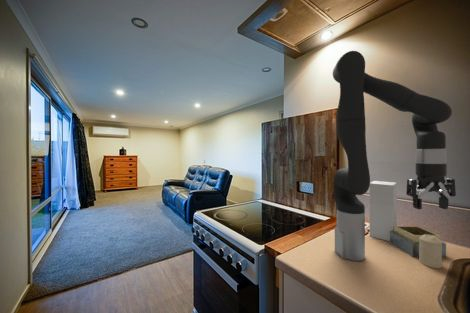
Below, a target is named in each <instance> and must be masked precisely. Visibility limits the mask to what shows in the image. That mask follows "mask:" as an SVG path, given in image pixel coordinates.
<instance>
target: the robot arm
mask: <svg viewBox="0 0 470 313" xmlns="http://www.w3.org/2000/svg"><path fill="white" fill-rule="evenodd" d="M332 78H333V80H334V81H335V82H336V83H338V84H339V91H340V92H339V100H338V106H337V111H336V135H337V139H338V141H339V143H340V145H341V146H342V148H343V149H344V152H345V154H346V157H347V166H348V167H343V168H340V169H337V170H336V172H334V173H335V174H334V176H333V183H332V184H333V186H332V187H333V198H334V203H335V205H336V226H335V227H334V251H335V253H337V254H338V255H339V257H340V258H341V259H344V260H345V259H346V260H348V261H353V262H361V261H364V260H365V257H366V237H365V236H366V222H365V221H366V220H365V219H366V216H365V215H366V211H365V210H366V208H365V207H366V206H365V204H364V203H363V202H362V201H361V200H360V199H358V198H359V197H357V196H362V195H363V196H364V195H365V194H366V193H367V192H368V190H370V183H371V175H370V168H369V162H368V154H367V153H368V152H367V143H366V142H367V140H366V130H367V129H366V113H365V111H366V108H365V107H366V106H365V97H364V96H365V95H364V94H367V95H369V96H371V97H374V98H375V99H378V100H380V101H381V102H382V103H385V104H386V105H389V106H390V107H392V108H394V109H396V110H397V111H400V112H403V113H404V112H406V113H412V115H411V124H412V128H413V130H414V133H415V136H416V151H415V175H416V176H417V178H416V179H414V178H407V179H406V180H407V181H406V196H409V197H411V198H412V207H413V208H414V209H417V210H423V209H422V208H423V206H422V205H423V199H422V198H423V196H424V195H426V194H427V193H431V192H436V194H438V196H439V197H438V207H439V208H440V209H443V210H447V209H448V208H449V200H450V198H452V197H455V196H456V195H457V194H456V193H457V192H456V191H457V190H456V179H454V178H448V177H447V175H448V172H447V171H448V170H447V169H448V168H447V166H448V165H447V164H448V162H447V161H448V160H447V159H448V156H447V149H446V148H447V147H446V146H447V144H446V140H447V139H446V138H447V137H446V133H445V132H443V131H440V130H439V129H438V125H437V124H440V123H444V122H446V121H447V120H449V119H450V118H451V116H452V114H453V113H452V112H453V110H452V107H451V106H450V105H449V104H448V103H447V102H445V101H443V100H442V99H441V100H440V99H438V98H435V97H432V96H428V95H425V94H420V93H418V92H416V91H415V90H412V89H410V88H409V87H406V86H405V85H403V84H400V83H398V82H395V81H391V80H386V79H383V78H379V77H375V76H372V75H370V74H368V73H367V72H366V60H365V56H363V54H362V53H361V52H360V51H358V50H350V51H347V52H346V53H344V54H342V55H341V56H340V58H339V59H337V62H336V64H335V66H334V67H333V70H332Z"/></svg>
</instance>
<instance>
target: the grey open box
mask: <svg viewBox="0 0 470 313" xmlns="http://www.w3.org/2000/svg"><path fill="white" fill-rule="evenodd" d="M424 234H430V235H432V236H434V237H436V238H437V239H439V240H440V241H441V242H442V258H445V257H447V243H446V242H444V241H442V236H441V235H440V234H438V233H436V232H435V233H434V232H432V231H430V230H427V229H425V228H423V227H420V226H418V225H397V226H394V231H390V241H389V243H390V244H391V245H393V246H395V247H396V248H397V249H399V250H401V251H403V252H405V253H406V254H408V255H409V256H411V257H413V258H414V257H416V258H419V237H421V236H422V235H424Z"/></svg>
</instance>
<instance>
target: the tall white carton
mask: <svg viewBox="0 0 470 313" xmlns="http://www.w3.org/2000/svg"><path fill="white" fill-rule="evenodd" d="M394 226H398V182H392V181H382V180H381V181H380V180H373V181H370V186H369V237H371V238H374V239H375V238H376V239H378V240H384V241H387V242H390V231H394Z"/></svg>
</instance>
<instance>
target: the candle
mask: <svg viewBox="0 0 470 313" xmlns="http://www.w3.org/2000/svg"><path fill="white" fill-rule="evenodd" d="M441 241H442V240H441ZM441 241H440V240H439V239H437V238H436V237H434V236H432V235H430V234H424V235H422V236H421V237H419V257H418V258H419V259H418V260H419V263H421V264H422V265H424V266H425V267H430V268H432V269H441V268H442V266H443V257H442V242H443V241H442V242H441Z"/></svg>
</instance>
